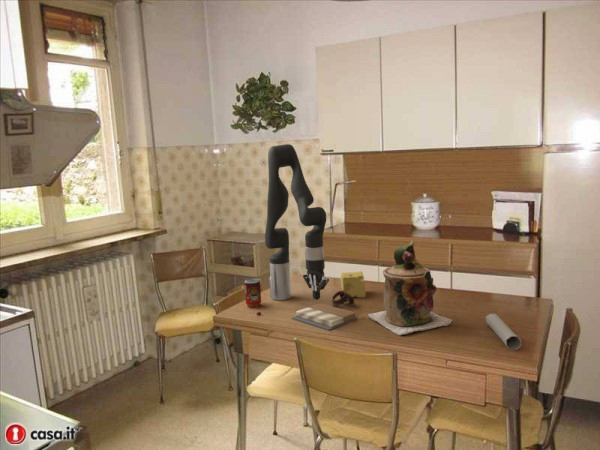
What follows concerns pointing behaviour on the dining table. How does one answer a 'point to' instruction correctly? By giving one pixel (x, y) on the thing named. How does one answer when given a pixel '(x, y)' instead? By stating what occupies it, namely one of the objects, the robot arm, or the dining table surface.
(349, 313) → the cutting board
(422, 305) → the cookie jar
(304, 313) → the plank
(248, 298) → the soda can
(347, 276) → the cheese
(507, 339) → the tube
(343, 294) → the pottery mug
